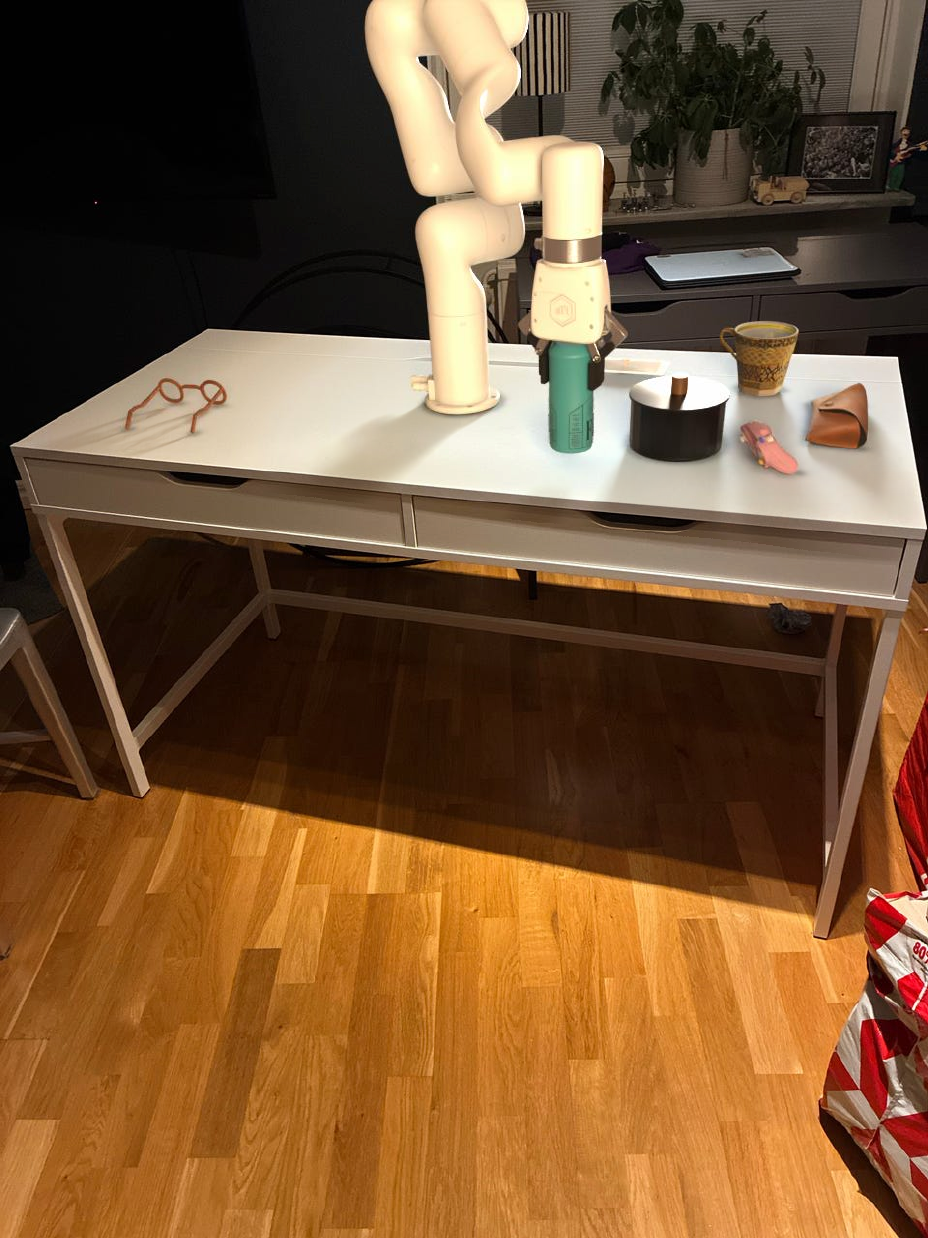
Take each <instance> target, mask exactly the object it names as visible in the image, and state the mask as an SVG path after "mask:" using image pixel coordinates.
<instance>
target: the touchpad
mask: <svg viewBox="0 0 928 1238" xmlns="http://www.w3.org/2000/svg"><path fill="white" fill-rule="evenodd" d="M671 362H672V361H671V360H660V359H642V358H641V359H639V358H622V357H621V358H619V357H606V358H605V373H615V374H633V375H648V376H649V375H652V376H665V374H666V372H667V370H668V368H669V366H670V364H671Z"/></svg>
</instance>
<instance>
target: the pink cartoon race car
mask: <svg viewBox="0 0 928 1238" xmlns="http://www.w3.org/2000/svg"><path fill="white" fill-rule="evenodd" d="M739 428H740V431H741V434H739V440H740V442H742V443H745V442H746V443H747V444H748V446H749V448H750V450H751V451H752V453H753V455H754V457H755V459H757V460H758V464H759V465H762V467H764V469H766V470H767V469H768V468H773V469H775V470H776V471H778V472H781V473H782V474H786V475H792V474H795V473H796V472H797V471H798V469H799V463H798V461H797V458H795V457H794V456H792V455H791V454H790V453H788V452H787V451H786V450H785V449H784V448H783V447H782V446H781V445H780V443H779V442H778V440H777V438H776V436H775V435H774V434H773V430H772V428H771V427H770V426H769V425H768V424H766V423H764V422H760V421H758V420H757V419H756V418H755V419H754V420H753V421H751V420H750V421H748V422H746V423H744V424H742V425H740V427H739Z"/></svg>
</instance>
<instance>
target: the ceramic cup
mask: <svg viewBox="0 0 928 1238" xmlns="http://www.w3.org/2000/svg"><path fill="white" fill-rule="evenodd" d="M799 331H800V330H799V328H797V327H796V326H795V325H793V324H789V323H785V322H781V321H773V320H771V321H770V320H760V321H750V322H744V323H741V324H738V325H737V326H736V327H735V328H733V327H725V328H723V329H722V330H721V331H720V333H719V341H720V343H721V344H722V345H723V346H724V348H726V349H727V350H728V352H729V353H730V355H731V356H732V357H733V359H734V360H735V361H736V369H737V370H736V371H737V387H738V389H739V390H740V392H742V393H743V394H744V395H749V396H755V397H765V396H767V397H768V396H774V395H776V394H778V393H779V392H780V391H782V388H783V385H784V380H785V377H786V374H787V371H788V370H789V369H788V368H789V365H790V362H791V359H792V356H793V354H794V351H795V347H796V344H797V340H798V338H799ZM725 332H727V333H729V334H731V335H732V336H733V337H734V338H733V339H734V348H735V349H734V350H735V352H734V351H733V349H732V348H731V347H730V346H729V344H727V342H725V340H724V339H723V337H724V336H723V335H724V333H725Z"/></svg>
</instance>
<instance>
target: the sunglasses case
mask: <svg viewBox="0 0 928 1238" xmlns="http://www.w3.org/2000/svg"><path fill="white" fill-rule="evenodd" d="M868 401H869V400H868V393H867V389H866V388H865V386H864V384H862V383H861V382H856V383H853V384H852V385H849V386H848V387H846V388H844V389H842V390H841V391H840V390H839V391H837V392H834V393H831V394H828V395H824V396H821V397H817V398H815V399H813V400H811V402H810V403H811V407H812V409H811V410H812V412H811V418H810V424H809V428H808V432H807V434H806V438H805V440H806V442H809V443H811V444H816V445H820V446H823V447H824V446H825V447H828V448H829V447H830V448H840V449H851V450H857V449H859V448H862V447H863V446H865V444H866V443H867V441H868V436H869V435H868V433H869V411H868V410H869V402H868Z"/></svg>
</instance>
